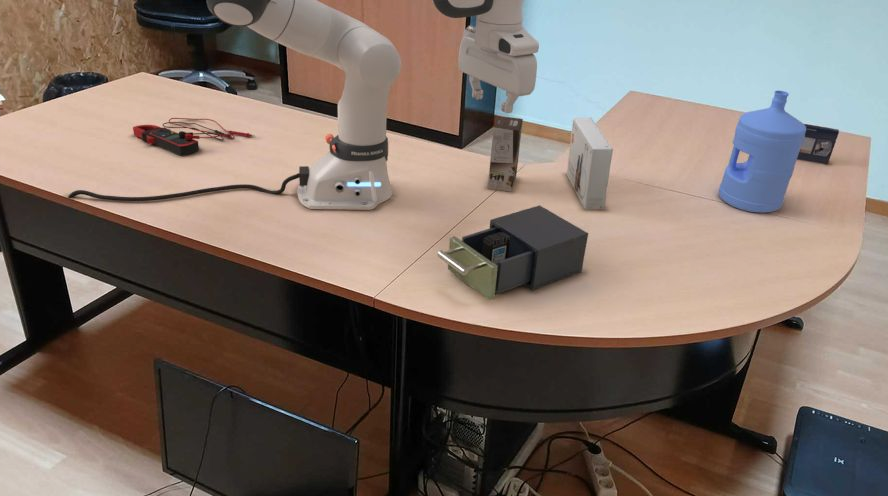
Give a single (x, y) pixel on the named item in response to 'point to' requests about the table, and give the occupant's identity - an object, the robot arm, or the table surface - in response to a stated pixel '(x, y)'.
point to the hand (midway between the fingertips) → (491, 105)
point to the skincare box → (589, 163)
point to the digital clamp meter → (178, 137)
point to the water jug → (763, 158)
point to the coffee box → (504, 153)
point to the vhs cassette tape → (818, 144)
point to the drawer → (488, 264)
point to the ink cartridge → (496, 247)
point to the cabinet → (546, 243)
